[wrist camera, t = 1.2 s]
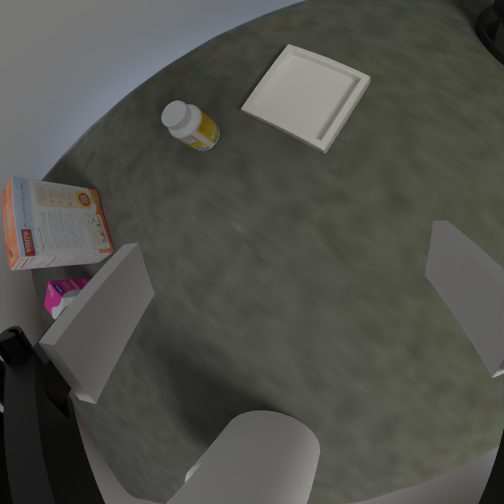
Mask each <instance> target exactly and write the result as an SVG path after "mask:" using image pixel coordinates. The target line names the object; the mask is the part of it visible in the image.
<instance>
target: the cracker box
mask: <svg viewBox="0 0 504 504" xmlns="http://www.w3.org/2000/svg"><path fill="white" fill-rule="evenodd" d="M2 213H3V224H4V234H5V242H6V249H7V255H8V262H9V267H10V270H20V269H32V268H44V267H55V266H68V265H79V264H92V263H99V262H101V261H102V260H103V259H105V258H106V257H108V256H109V255H110V254H112V253H113V252H114V249H113V246H112V242H111V239H110V235H109V232H108V229H107V225H106V221H105V218H104V214H103V210H102V207H101V202H100V198H99V194H98V190H94V189H88V188H82V187H77V186H70V185H65V184H58V183H52V182H45V181H39V180H32V179H24V178H18V177H11V179H10V181H9V183H8V184H7V186H6V188H5V190H4V191H3V193H2Z"/></svg>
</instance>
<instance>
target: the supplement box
mask: <svg viewBox="0 0 504 504" xmlns="http://www.w3.org/2000/svg"><path fill="white" fill-rule="evenodd" d="M91 279H92V278H80V279H68V280H55V281H49V282H48V287H47V293H46V299H45V304H44V306H45V307H46V308H47V310H48V311H49V313H50V314H51V315H52V317H53V318H54V319H56V318H58V315H59V314H60V313H61V312H62V311H63V309H64V308H65V307H66V306H68V305H69V304H70V303H71V302H72V300H73V299H74V298H75V297H76V296H77V295H78V294H79V292H80V291H81V290H82V289H83V288H84V287H85V286H86V285H87V283H88V282H89V281H90V280H91Z"/></svg>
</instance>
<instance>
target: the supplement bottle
mask: <svg viewBox="0 0 504 504" xmlns="http://www.w3.org/2000/svg"><path fill="white" fill-rule="evenodd" d="M161 119H162V123H163V124H164V125H165V126H166V127H168V130H169V132H170V134H171V135H172V136H174V137H175V138H177V139H179V140H180V141H182V142H184V143H185V144H187V145H189V146H190V147H192V148H194V149H196V150H198V151H206V150H209V149H211V148H212V147H213V146H214V145H215V144H216V143H217V141H218V139H219V136H220V129H219V127H218V125H217V124H216V123H215V122H214V121H213V120H212V119H211V118H209V117H208V116H207V115H206V114H205V113H203V112H202V111H201V110H200V109H199V108H198V107H196V106H194V105H191V104H185V103H184V102H182V101H174V102H171V103H170V104H168V105H167V106H166V108H165V109H164V111H163V113H162V118H161Z"/></svg>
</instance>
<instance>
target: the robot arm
mask: <svg viewBox="0 0 504 504" xmlns="http://www.w3.org/2000/svg"><path fill="white" fill-rule="evenodd" d="M476 31H477V33H478V36H479V37H480V39H481V41H482V42H483V44H484V45H485V46H486V48H487V49H488V50H489V51H490V52H491V53H492V54H493V55H494V56H495V57H496V58H497V59H498V60H499V61H500V62H501V63H502V64H504V0H495V2H494V3H493V4H492V5H491V6H490V7H488V8H487V9H486V10H484V11H483V12H482V13H480V15H479V16H478V18H477V21H476ZM425 276H426V277H427V279H428V280H429V281H430V283H431V284H432V285H433V287H434V288H435V289H436V291H437V292H438V293H439V295H440V296H441V298H442V299H443V300H444V302H445V303H446V305H447V306H448V307H449V309H450V310H451V312H452V313H453V315H454V316H455V318H456V319H457V321H458V322H459V324H460V325H461V327H462V328H463V330H464V331H465V333H466V334H467V336H468V338H469V339H470V341H471V342H472V344H473V346H474V347H475V349H476V351H477V352H478V354H479V356H480V357H481V359H482V361H483V363H484V364H485V366H486V368H487V370H488V371H489V373H490V375H491V377H492V378H494V377H496V376H498V375H501V374H503V373H504V269H503V268H502V267H501V266H500V265H498V264H497V263H496V262H495V261H494V260H493V259H492V258H491V257H490V256H489V255H488V254H486V253H485V252H484V251H483V250H482V249H481V248H480V247H478V246H477V245H476V244H475V243H474V242H473V241H471V240H470V239H469V238H468V237H467V236H465V235H464V234H463V233H462V232H460V231H459V230H458V229H457V228H455V227H454V226H453V225H452V224H450V223H449V222H448V221H433V229H432V236H431V243H430V249H429V255H428V260H427V266H426V271H425ZM153 296H154V291H153V288H152V285H151V282H150V279H149V276H148V273H147V270H146V267H145V263H144V260H143V257H142V254H141V250H140V247H139V243H133V244H124V245H123V246H122V247H121V248H120V249H119V250H118V251H117V252H116V253H115V254H114V256H113V257H112V258H111V259H110V260H109V261H108V262H107V263H106V264H105V265H104V266H103V267H102V268H101V269H100V270H99V271H98V272H97V274H96V275H95V276H94V277H93V278H92V279H91V280H90V281H89V282H88V283H87V285H86V286H85V287H84V288H83V289H82V290H81V291H80V292H79V294H78V295H77V296H76V297H75V298H74V299H73V300H72V302H71V303H70V304H69V305H68V306H66V307H65V308H64V309H63V311H62V312H61V313H60V314H59V315H58V318H56V319H55V320H54V322H53V324H51V325H50V326H49V328H48V329H47V330H46V331H45V333H44V334H43V335H42V337H41V338H40V339H39V341H38V342H37V343H36V344H35V346H34V347H32V345H31V344H30V342H29V340H28V339H27V337H26V335H25V334H24V332H23V330H22V329H21V328H20V327H19V326H13V327H10V328H8V329H6V330H5V331H3V332H2V333H1V334H0V356H1V357H2V359H3V360H4V361H1V360H0V404H1V405H2V406H3V407H4V412H3V413H2V412H0V504H105V502H104V500H103V498H102V495H101V493H100V491H99V488H98V486H97V483H96V480H95V478H94V475H93V472H92V470H91V467H90V464H89V461H88V458H87V455H86V452H85V449H84V445H83V442H82V439H81V435H80V431H79V428H78V424H77V420H76V416H75V412H74V407H73V403H72V401H71V398H70V397H69V396H68V394H69V392H70V390H71V389H72V391H73V392H74V393H75V394H76V396H77V397H78V398H79V399H80V400H83V401H87V402H91V403H95V404H96V402H97V400H98V398H99V396H100V394H101V392H102V390H103V388H104V386H105V384H106V382H107V380H108V378H109V376H110V374H111V372H112V370H113V368H114V366H115V364H116V362H117V361H118V359H119V357H120V355H121V353H122V351H123V349H124V347H125V346H126V344H127V342H128V340H129V338H130V336H131V335H132V333H133V331H134V329H135V327H136V325H137V324H138V322H139V320H140V318H141V317H142V315H143V313H144V311H145V310H146V308H147V306H148V304H149V303H150V301H151V299H152V297H153ZM479 504H504V430H503V434H502V438H501V442H500V446H499V449H498V452H497V456H496V459H495V462H494V465H493V468H492V471H491V474H490V477H489V479H488V482H487V485H486V487H485V490H484V492H483V494H482V497H481V499H480V502H479Z"/></svg>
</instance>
